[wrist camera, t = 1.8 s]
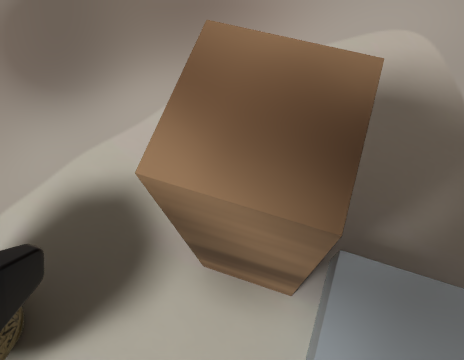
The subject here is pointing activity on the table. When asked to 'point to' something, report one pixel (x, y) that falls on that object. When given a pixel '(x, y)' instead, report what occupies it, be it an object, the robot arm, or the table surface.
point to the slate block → (385, 314)
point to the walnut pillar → (261, 151)
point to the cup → (11, 333)
